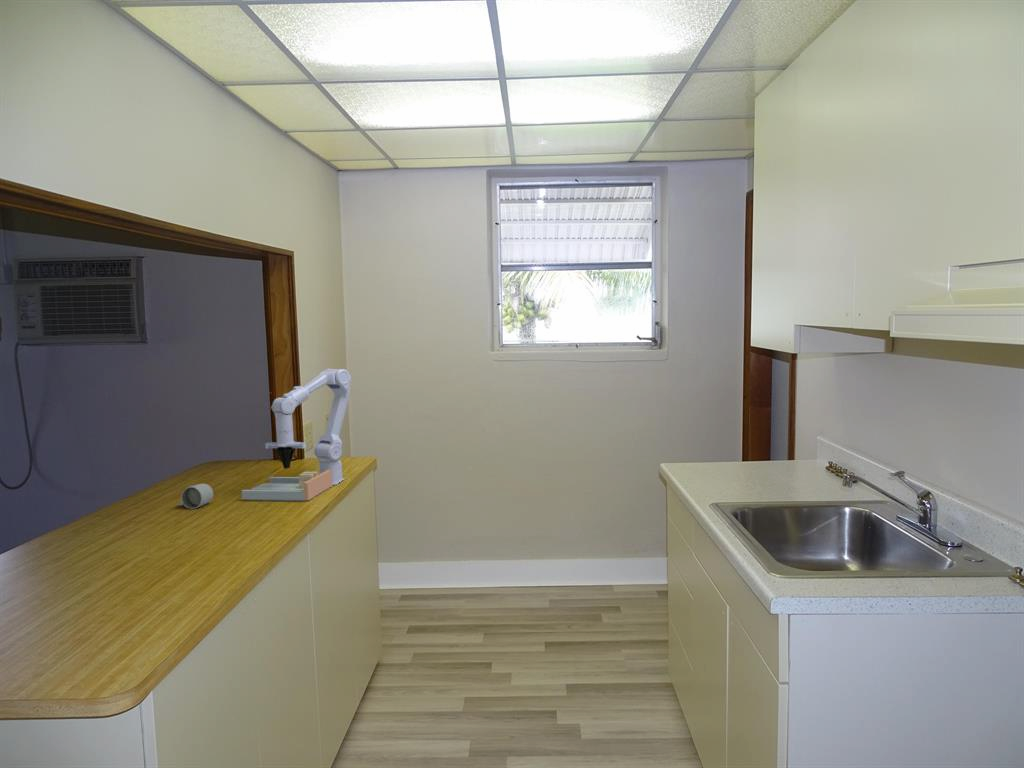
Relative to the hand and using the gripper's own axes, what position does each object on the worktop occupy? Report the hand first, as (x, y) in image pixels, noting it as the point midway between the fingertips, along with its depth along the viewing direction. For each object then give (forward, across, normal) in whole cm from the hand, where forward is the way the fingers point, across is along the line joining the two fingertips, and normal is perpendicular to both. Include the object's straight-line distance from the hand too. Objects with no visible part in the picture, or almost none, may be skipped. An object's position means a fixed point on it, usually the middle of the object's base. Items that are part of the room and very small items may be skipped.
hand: (286, 468), depth 246 cm
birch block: (+7, +8, 0) cm, 11 cm away
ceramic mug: (+10, -25, -18) cm, 32 cm away
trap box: (+9, 0, 0) cm, 9 cm away
